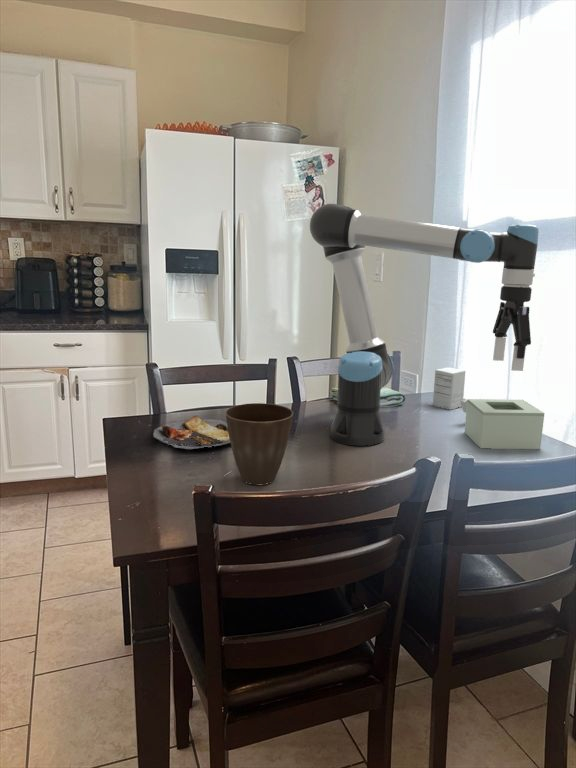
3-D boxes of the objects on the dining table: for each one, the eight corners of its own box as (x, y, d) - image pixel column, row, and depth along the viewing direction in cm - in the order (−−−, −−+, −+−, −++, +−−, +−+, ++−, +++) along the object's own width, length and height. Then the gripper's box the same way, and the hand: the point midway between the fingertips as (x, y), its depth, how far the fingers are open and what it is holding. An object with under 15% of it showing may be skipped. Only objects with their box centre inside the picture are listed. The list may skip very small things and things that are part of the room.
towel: (327, 398, 204) (328, 384, 203) (380, 394, 211) (381, 381, 210) (349, 411, 188) (350, 396, 186) (406, 407, 194) (407, 392, 193)
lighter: (475, 421, 178) (477, 396, 176) (479, 422, 176) (481, 397, 174) (458, 424, 174) (460, 398, 173) (462, 425, 173) (464, 400, 171)
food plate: (137, 436, 159) (137, 423, 158) (205, 420, 175) (205, 409, 174) (191, 462, 142) (191, 448, 141) (260, 442, 158) (260, 430, 157)
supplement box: (444, 402, 200) (447, 366, 197) (463, 406, 194) (466, 370, 191) (431, 405, 195) (434, 369, 192) (450, 410, 190) (453, 373, 187)
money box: (480, 448, 153) (483, 412, 151) (464, 432, 166) (467, 399, 164) (540, 449, 153) (544, 413, 151) (519, 432, 167) (523, 399, 164)
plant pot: (293, 468, 137) (294, 404, 133) (289, 494, 122) (291, 422, 119) (231, 466, 138) (231, 402, 134) (220, 491, 123) (219, 420, 120)
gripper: (552, 289, 138) (540, 375, 143) (512, 283, 162) (504, 357, 167) (521, 288, 138) (510, 374, 143) (486, 282, 162) (478, 356, 167)
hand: (507, 365), depth 155 cm, fingers open, 13 cm apart
